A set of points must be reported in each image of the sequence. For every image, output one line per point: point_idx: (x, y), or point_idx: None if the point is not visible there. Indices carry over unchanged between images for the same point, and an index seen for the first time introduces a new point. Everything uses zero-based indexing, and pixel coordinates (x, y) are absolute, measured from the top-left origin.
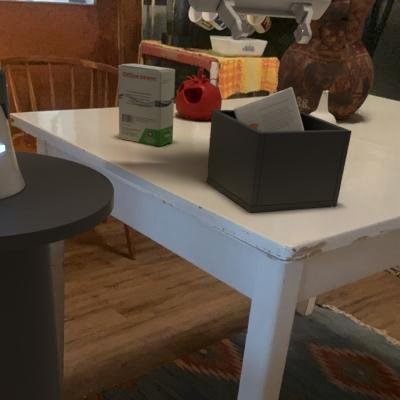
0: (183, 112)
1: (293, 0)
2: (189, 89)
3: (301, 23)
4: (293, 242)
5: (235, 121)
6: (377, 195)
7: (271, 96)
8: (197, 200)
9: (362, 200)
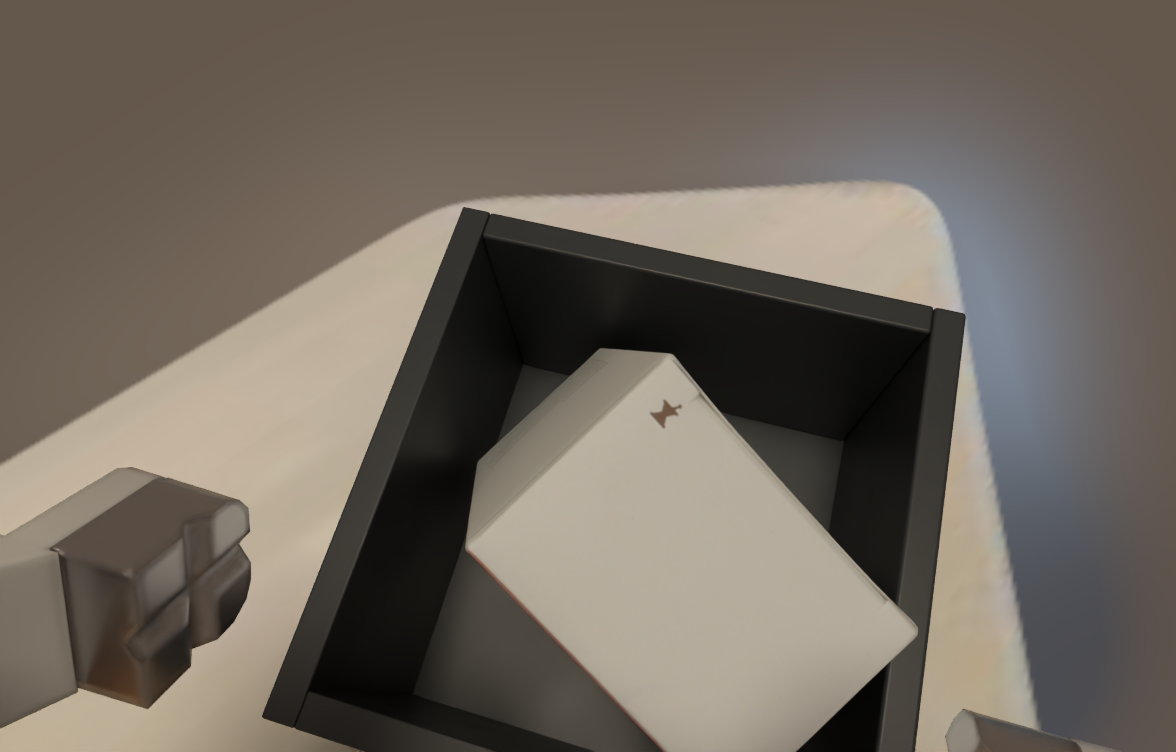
0: None
1: None
2: None
3: (119, 563)
4: (895, 202)
5: (935, 564)
6: (267, 362)
7: (756, 455)
8: (980, 639)
9: (372, 350)
